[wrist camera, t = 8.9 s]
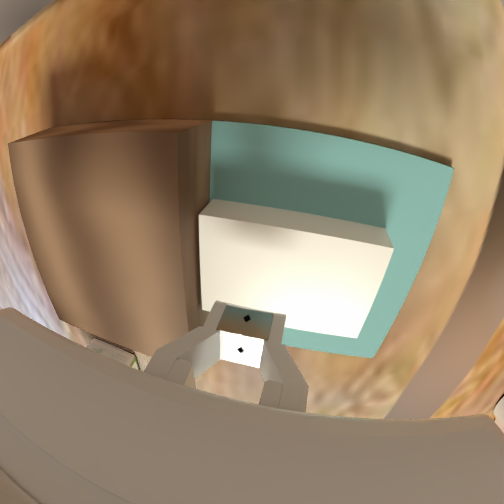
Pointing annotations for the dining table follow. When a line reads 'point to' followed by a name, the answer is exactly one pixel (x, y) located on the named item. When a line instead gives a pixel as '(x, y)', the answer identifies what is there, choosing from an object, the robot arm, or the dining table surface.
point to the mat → (336, 203)
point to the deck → (118, 224)
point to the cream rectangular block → (292, 265)
